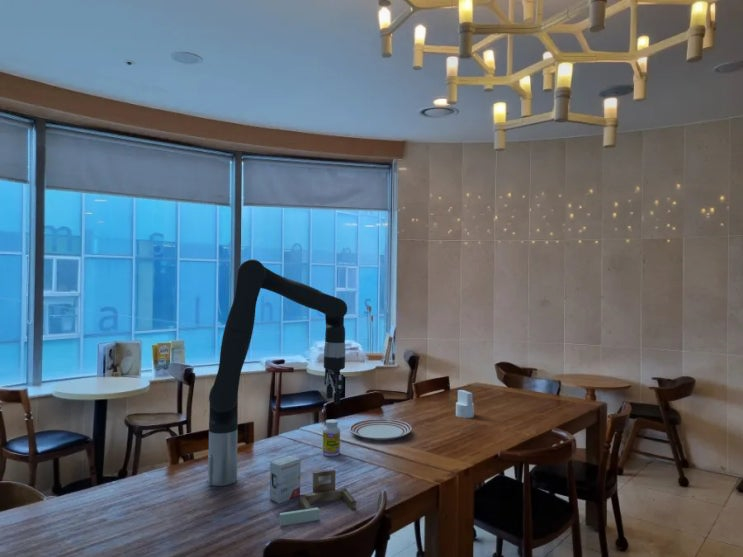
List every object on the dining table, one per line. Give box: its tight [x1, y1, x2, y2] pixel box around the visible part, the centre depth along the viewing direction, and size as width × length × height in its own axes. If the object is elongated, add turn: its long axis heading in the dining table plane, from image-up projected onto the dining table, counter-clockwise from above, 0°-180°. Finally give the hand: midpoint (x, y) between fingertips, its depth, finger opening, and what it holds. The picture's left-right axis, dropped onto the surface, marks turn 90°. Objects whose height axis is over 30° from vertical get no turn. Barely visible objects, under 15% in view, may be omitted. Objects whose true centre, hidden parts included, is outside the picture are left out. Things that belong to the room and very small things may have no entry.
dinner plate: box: [349, 418, 412, 441], centre depth 228 cm, size 27×27×3 cm
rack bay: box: [298, 469, 357, 511], centre depth 156 cm, size 15×12×8 cm
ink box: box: [269, 455, 302, 505], centre depth 160 cm, size 9×5×12 cm, turn 137°
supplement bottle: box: [322, 418, 341, 457], centre depth 201 cm, size 7×7×13 cm
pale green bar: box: [278, 507, 320, 527], centre depth 144 cm, size 11×1×3 cm, turn 111°
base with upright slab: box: [455, 389, 475, 419], centre depth 260 cm, size 9×9×12 cm
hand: (333, 400), depth 181 cm, fingers open, 8 cm apart
